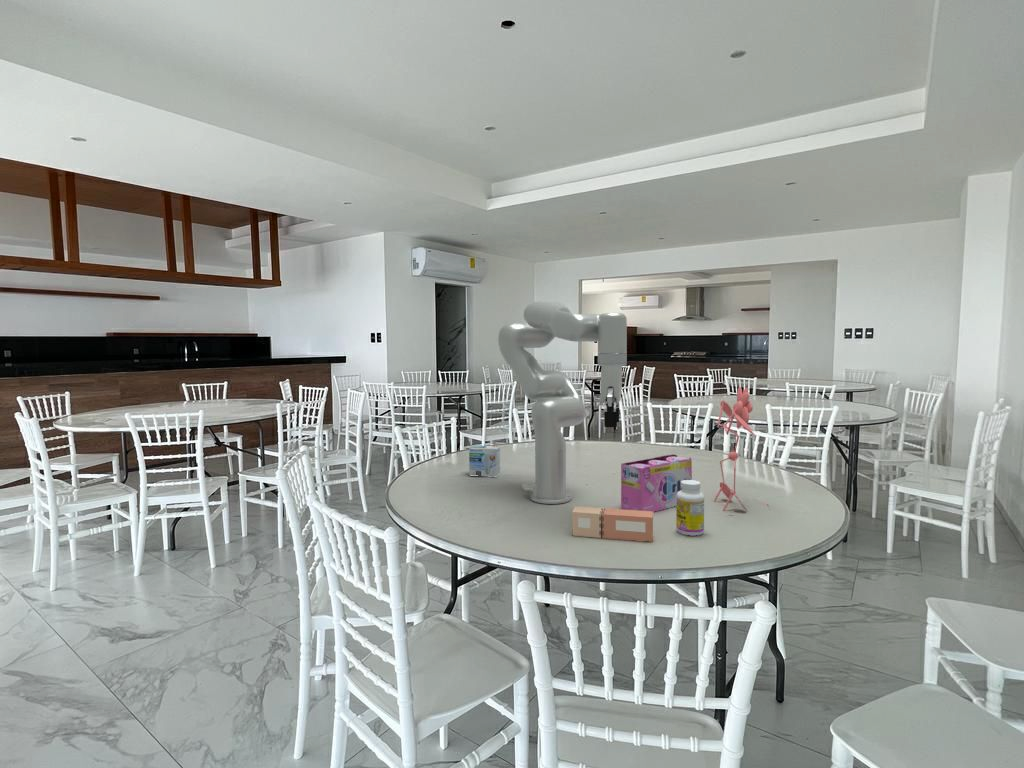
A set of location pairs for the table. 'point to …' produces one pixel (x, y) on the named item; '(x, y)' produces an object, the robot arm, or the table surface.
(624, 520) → the cardboard box
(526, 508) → the table surface
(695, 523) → the supplement bottle
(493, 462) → the light bulb box
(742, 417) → the figurine
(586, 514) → the beige boxy piece
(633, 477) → the gum box
